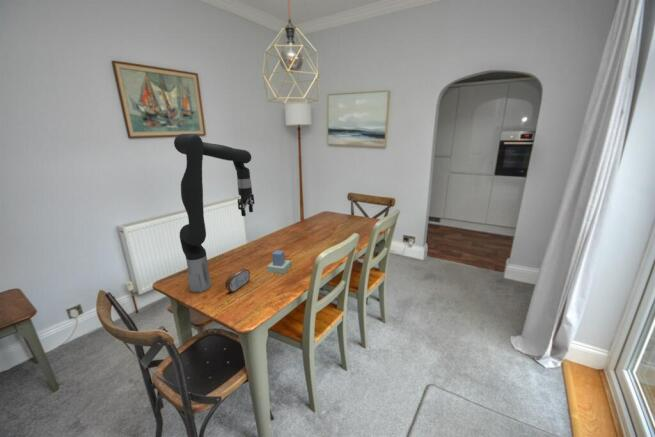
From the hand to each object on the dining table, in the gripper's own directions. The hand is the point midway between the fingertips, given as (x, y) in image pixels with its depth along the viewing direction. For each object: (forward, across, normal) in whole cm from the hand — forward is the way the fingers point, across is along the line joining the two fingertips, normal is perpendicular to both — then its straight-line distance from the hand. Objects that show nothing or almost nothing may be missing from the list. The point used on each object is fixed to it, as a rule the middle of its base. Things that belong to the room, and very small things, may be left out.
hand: (247, 214), depth 164 cm
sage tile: (+30, -7, -21) cm, 37 cm away
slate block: (+26, -7, -21) cm, 34 cm away
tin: (+30, -29, -8) cm, 43 cm away
